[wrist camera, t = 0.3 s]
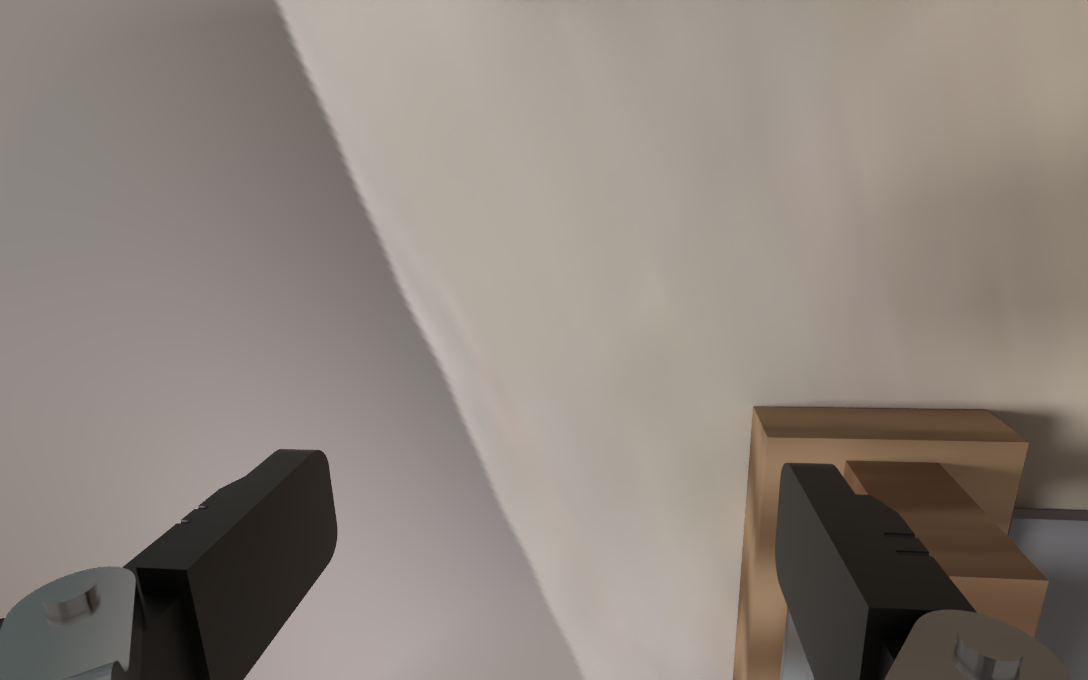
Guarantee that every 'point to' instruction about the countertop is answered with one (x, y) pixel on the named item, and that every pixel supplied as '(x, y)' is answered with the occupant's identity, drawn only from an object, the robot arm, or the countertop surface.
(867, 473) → the plane body
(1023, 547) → the rubber mat
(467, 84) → the countertop surface
